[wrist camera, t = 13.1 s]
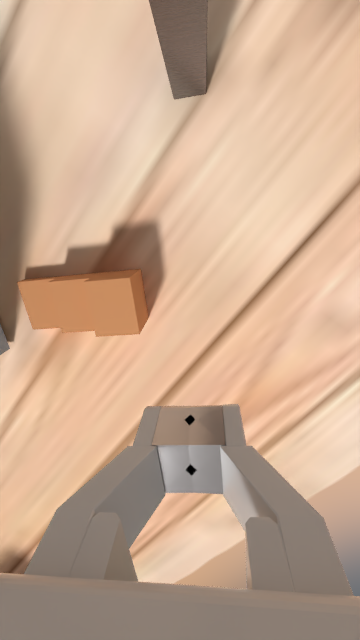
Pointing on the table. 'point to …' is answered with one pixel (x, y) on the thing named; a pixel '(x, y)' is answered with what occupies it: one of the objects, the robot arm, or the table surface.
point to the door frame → (183, 43)
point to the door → (3, 342)
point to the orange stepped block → (87, 302)
